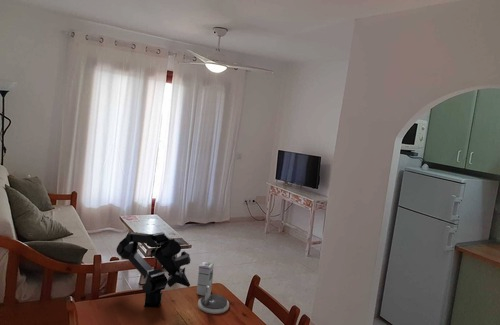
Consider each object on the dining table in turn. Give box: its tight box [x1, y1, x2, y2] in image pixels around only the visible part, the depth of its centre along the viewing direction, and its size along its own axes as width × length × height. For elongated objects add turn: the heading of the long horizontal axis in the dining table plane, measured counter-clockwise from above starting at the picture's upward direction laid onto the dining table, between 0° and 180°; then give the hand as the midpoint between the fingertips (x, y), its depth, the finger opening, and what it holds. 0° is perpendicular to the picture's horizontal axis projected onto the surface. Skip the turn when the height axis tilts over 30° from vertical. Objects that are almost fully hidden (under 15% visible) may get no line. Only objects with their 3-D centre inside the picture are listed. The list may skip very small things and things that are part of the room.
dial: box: [200, 285, 228, 309], centre depth 170 cm, size 12×12×9 cm
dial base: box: [197, 297, 230, 315], centre depth 171 cm, size 14×14×2 cm
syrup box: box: [196, 261, 215, 297], centre depth 182 cm, size 6×6×14 cm
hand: (189, 286), depth 165 cm, fingers closed
